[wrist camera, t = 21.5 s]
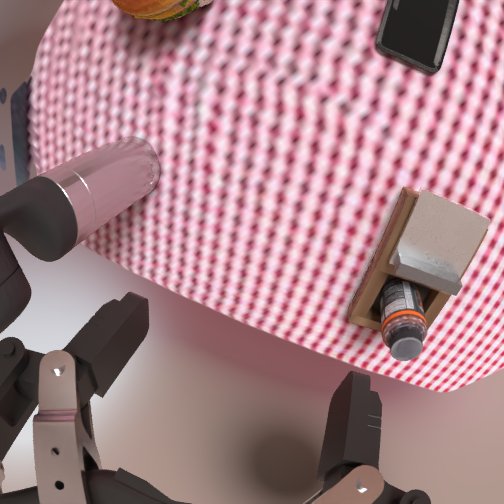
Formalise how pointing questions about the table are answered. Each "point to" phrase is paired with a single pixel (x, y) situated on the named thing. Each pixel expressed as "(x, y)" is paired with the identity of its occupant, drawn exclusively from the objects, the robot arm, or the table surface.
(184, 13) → the burger
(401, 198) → the socket board
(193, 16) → the table surface
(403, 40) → the phone
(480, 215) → the shutter lid
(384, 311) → the supplement bottle
